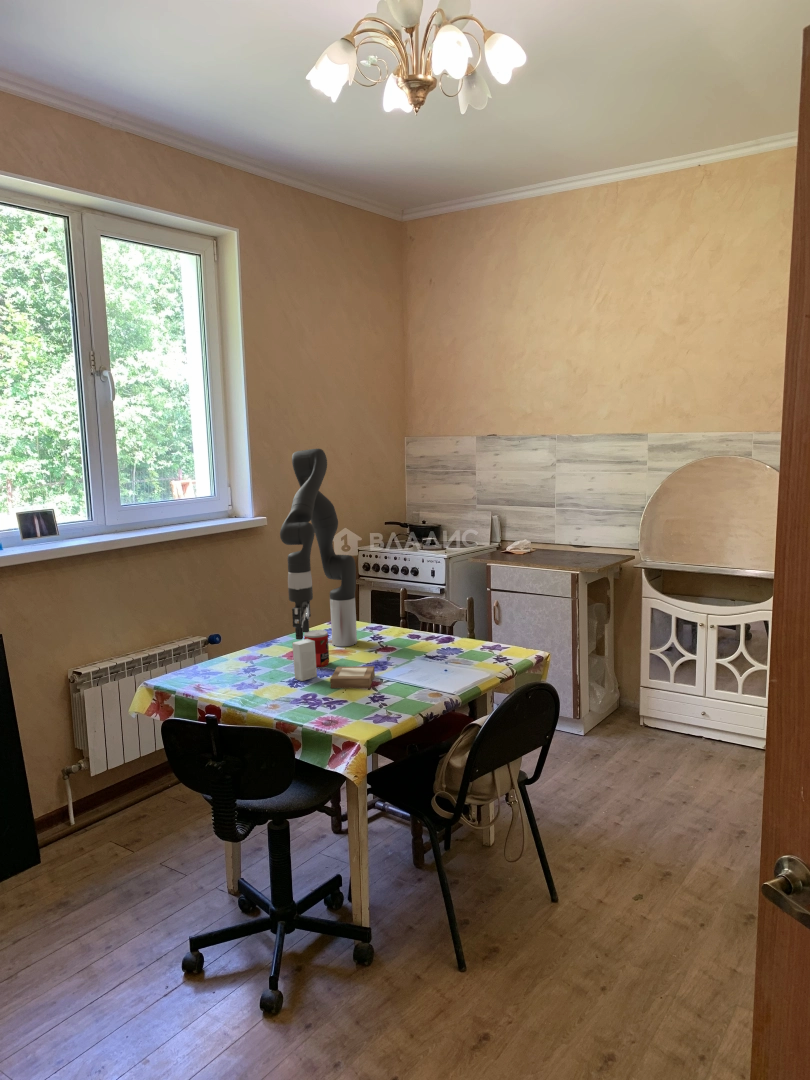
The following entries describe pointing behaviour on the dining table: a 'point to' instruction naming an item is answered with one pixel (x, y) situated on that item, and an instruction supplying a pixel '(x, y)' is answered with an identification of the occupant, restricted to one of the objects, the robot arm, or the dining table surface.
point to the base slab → (352, 677)
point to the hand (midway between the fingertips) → (302, 635)
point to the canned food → (319, 646)
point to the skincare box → (304, 659)
